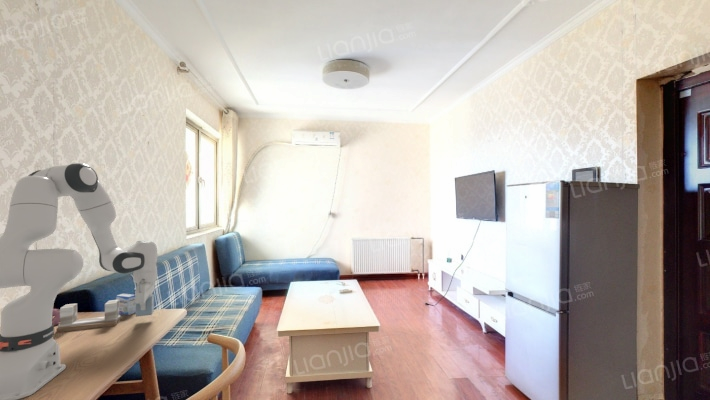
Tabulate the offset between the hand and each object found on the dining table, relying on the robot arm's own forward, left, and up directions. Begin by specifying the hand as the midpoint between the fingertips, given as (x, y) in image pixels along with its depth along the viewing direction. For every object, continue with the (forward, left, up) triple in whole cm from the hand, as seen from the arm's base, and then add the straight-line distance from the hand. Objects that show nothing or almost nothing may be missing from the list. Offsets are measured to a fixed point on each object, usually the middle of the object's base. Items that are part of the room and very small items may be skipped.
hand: (144, 307), depth 140 cm
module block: (0, 0, -3) cm, 3 cm away
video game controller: (+12, +37, -7) cm, 40 cm away
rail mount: (+4, +20, -6) cm, 22 cm away
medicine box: (+16, +10, -7) cm, 20 cm away
